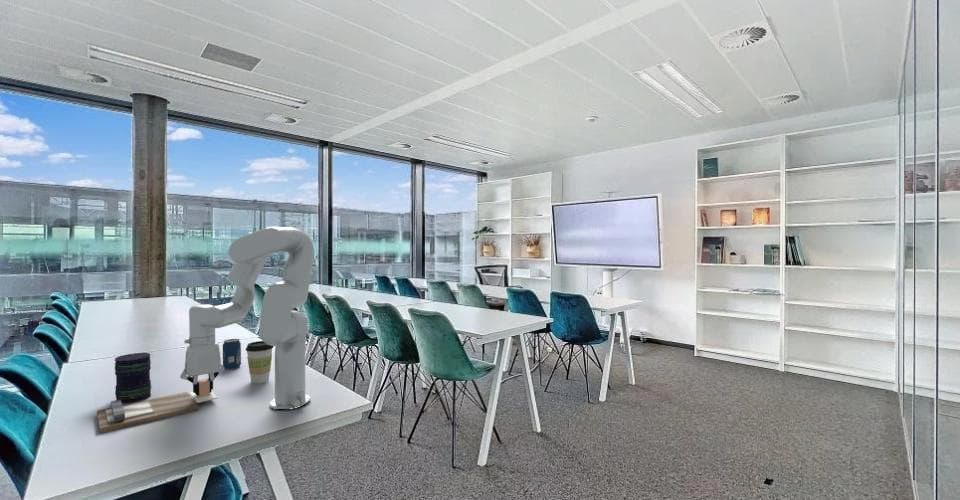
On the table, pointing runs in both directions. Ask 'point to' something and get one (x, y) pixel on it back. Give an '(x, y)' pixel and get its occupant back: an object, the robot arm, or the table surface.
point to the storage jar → (133, 377)
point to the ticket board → (144, 411)
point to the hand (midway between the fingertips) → (203, 392)
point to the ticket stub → (203, 391)
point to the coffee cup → (259, 361)
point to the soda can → (231, 354)
